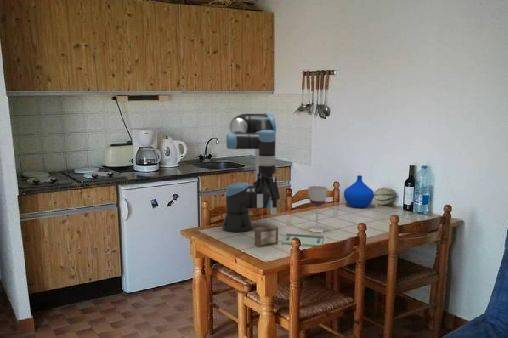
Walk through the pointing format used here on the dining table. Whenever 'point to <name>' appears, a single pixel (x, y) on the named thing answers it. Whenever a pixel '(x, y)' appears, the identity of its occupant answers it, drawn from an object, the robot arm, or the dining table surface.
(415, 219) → the dining table surface
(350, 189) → the vase
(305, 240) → the ledge board
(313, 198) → the wineglass
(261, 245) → the frame
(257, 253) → the dining table surface
